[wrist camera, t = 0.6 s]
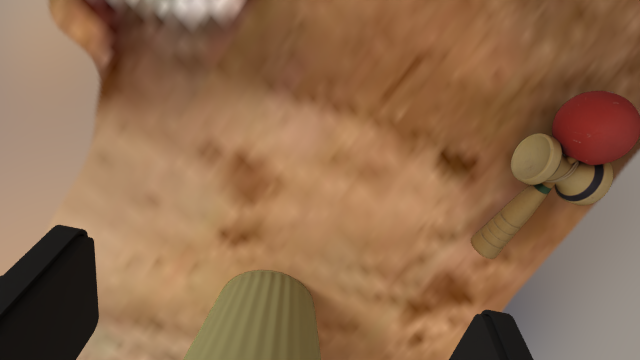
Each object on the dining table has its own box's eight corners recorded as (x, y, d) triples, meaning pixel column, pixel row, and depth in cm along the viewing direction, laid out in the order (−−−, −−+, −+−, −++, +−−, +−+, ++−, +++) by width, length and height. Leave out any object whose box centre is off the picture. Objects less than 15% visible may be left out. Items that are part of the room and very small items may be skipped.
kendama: (513, 243, 44) (652, 107, 34) (522, 285, 39) (690, 139, 29) (450, 211, 44) (571, 64, 34) (451, 249, 39) (593, 90, 29)
